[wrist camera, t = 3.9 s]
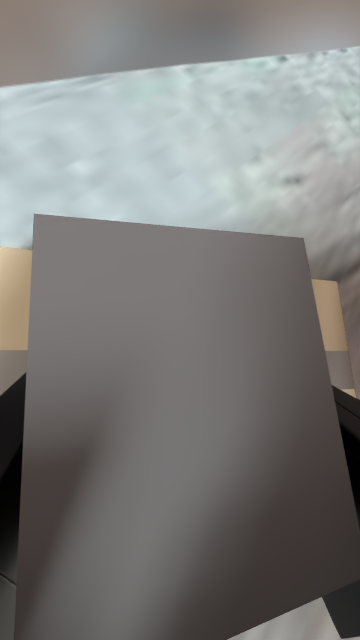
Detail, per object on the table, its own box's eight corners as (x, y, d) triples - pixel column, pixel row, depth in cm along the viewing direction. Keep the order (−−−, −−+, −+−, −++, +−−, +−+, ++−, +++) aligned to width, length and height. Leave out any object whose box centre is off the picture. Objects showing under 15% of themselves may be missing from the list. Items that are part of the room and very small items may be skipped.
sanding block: (199, 435, 11) (368, 575, 4) (92, 453, 10) (9, 737, 2) (189, 317, 12) (303, 238, 5) (91, 319, 11) (33, 213, 3)
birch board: (303, 294, 19) (337, 281, 16) (324, 454, 16) (368, 473, 13) (-14, 269, 13) (-51, 241, 10) (-53, 509, 10) (-117, 562, 8)
